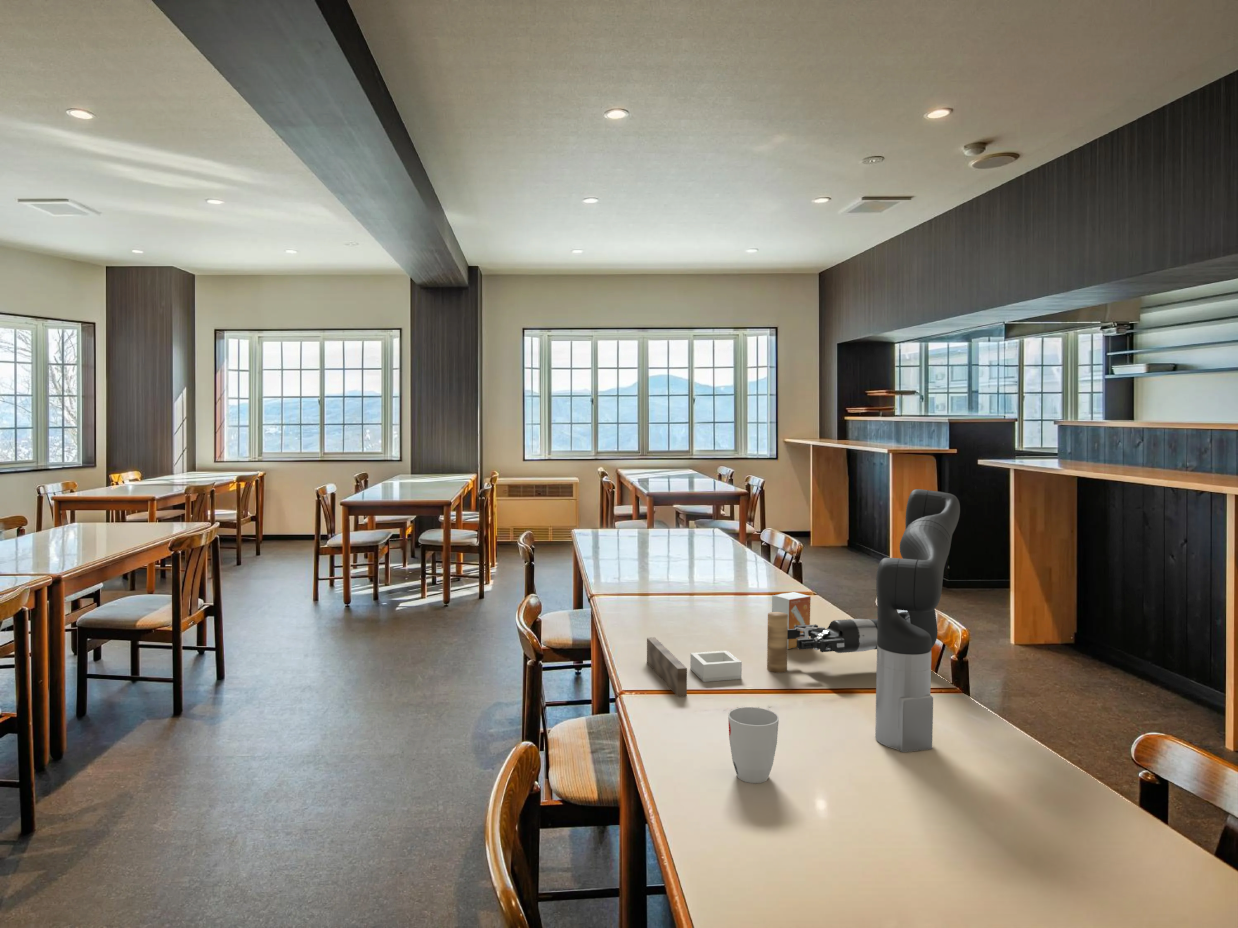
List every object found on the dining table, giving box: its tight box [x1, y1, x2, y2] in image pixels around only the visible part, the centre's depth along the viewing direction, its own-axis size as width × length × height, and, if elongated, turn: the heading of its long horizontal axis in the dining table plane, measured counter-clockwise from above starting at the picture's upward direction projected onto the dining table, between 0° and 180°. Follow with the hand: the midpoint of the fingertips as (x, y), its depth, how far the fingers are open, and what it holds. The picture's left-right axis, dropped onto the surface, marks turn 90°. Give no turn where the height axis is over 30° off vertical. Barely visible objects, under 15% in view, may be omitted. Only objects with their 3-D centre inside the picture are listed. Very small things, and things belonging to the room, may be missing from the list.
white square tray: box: [689, 650, 743, 683], centre depth 174 cm, size 9×9×4 cm
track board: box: [646, 636, 688, 698], centre depth 173 cm, size 24×20×7 cm
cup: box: [727, 706, 780, 784], centre depth 126 cm, size 8×8×10 cm
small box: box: [771, 591, 811, 650], centre depth 202 cm, size 8×6×13 cm
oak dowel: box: [766, 611, 788, 674], centre depth 177 cm, size 4×4×14 cm
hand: (789, 639), depth 178 cm, fingers open, 8 cm apart
